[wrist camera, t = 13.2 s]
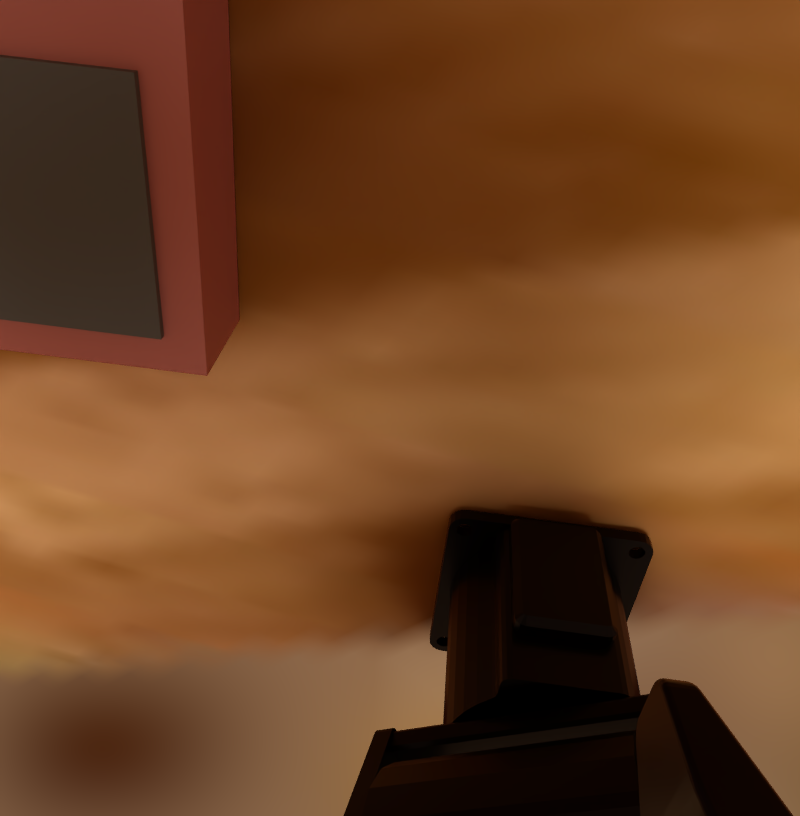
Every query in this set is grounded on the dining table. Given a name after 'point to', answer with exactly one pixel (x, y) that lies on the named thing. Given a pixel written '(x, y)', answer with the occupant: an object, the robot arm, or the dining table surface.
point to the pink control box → (117, 182)
